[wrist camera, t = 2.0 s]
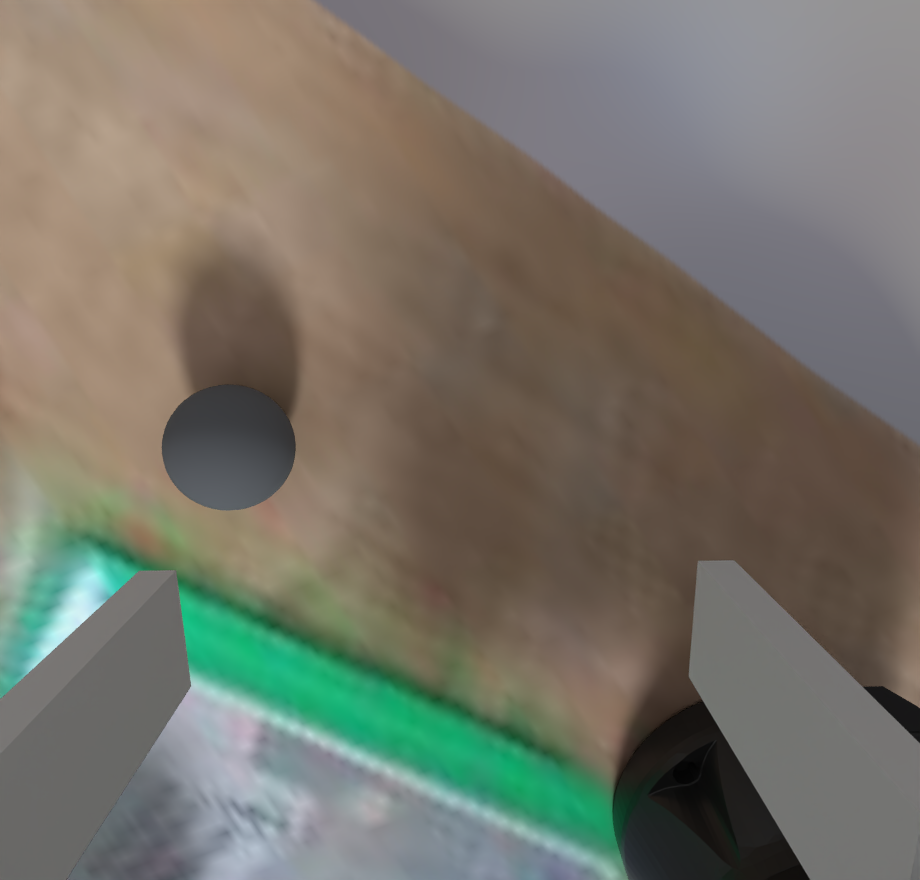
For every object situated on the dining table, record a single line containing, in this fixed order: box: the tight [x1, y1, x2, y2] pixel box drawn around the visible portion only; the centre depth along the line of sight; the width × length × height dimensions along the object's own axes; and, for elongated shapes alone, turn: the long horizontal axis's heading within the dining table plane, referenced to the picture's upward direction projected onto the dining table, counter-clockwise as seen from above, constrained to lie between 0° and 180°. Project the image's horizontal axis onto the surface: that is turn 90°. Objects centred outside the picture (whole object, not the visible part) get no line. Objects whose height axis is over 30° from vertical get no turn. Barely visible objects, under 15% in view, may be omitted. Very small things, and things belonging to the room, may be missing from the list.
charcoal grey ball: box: [162, 385, 295, 510], centre depth 28 cm, size 6×6×6 cm
